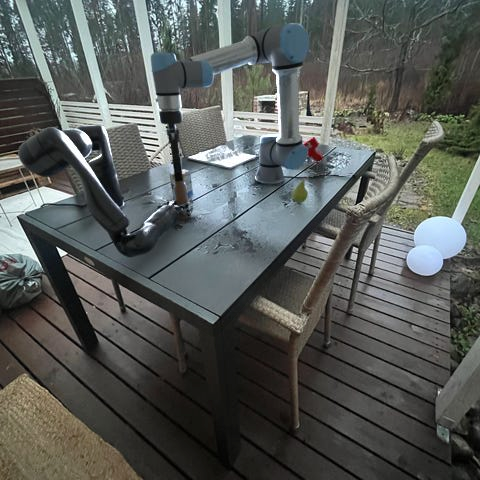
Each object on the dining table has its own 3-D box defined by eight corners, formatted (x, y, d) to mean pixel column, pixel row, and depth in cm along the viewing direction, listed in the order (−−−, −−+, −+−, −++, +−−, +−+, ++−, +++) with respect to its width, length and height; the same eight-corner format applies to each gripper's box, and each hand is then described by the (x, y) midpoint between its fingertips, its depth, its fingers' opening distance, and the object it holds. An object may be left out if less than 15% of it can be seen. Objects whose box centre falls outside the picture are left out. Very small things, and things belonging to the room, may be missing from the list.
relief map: (229, 168, 161) (229, 160, 158) (188, 158, 179) (187, 150, 176) (255, 158, 179) (255, 150, 177) (215, 150, 197) (215, 142, 194)
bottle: (191, 217, 110) (187, 175, 100) (181, 220, 108) (175, 177, 98) (187, 213, 113) (181, 171, 104) (176, 216, 111) (170, 174, 101)
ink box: (187, 192, 132) (184, 168, 125) (193, 195, 129) (190, 170, 122) (172, 197, 127) (168, 172, 120) (178, 200, 124) (174, 175, 117)
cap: (185, 179, 100) (185, 174, 99) (173, 180, 99) (172, 175, 98) (184, 175, 104) (183, 170, 103) (172, 176, 103) (171, 171, 102)
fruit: (288, 200, 123) (290, 174, 116) (302, 197, 125) (305, 172, 119) (296, 206, 118) (299, 179, 111) (310, 203, 120) (314, 177, 114)
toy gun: (326, 156, 168) (314, 136, 164) (326, 158, 165) (313, 137, 161) (301, 172, 178) (289, 152, 174) (300, 174, 175) (288, 154, 171)
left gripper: (180, 212, 92) (200, 193, 105) (143, 207, 95) (168, 189, 109) (183, 231, 96) (202, 210, 110) (147, 225, 99) (170, 206, 113)
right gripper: (159, 106, 96) (168, 169, 109) (156, 114, 80) (168, 187, 93) (180, 105, 98) (187, 168, 110) (182, 113, 82) (190, 186, 94)
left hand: (185, 200), depth 109 cm, fingers closed on bottle, 4 cm apart
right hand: (178, 177), depth 101 cm, fingers open, 7 cm apart
